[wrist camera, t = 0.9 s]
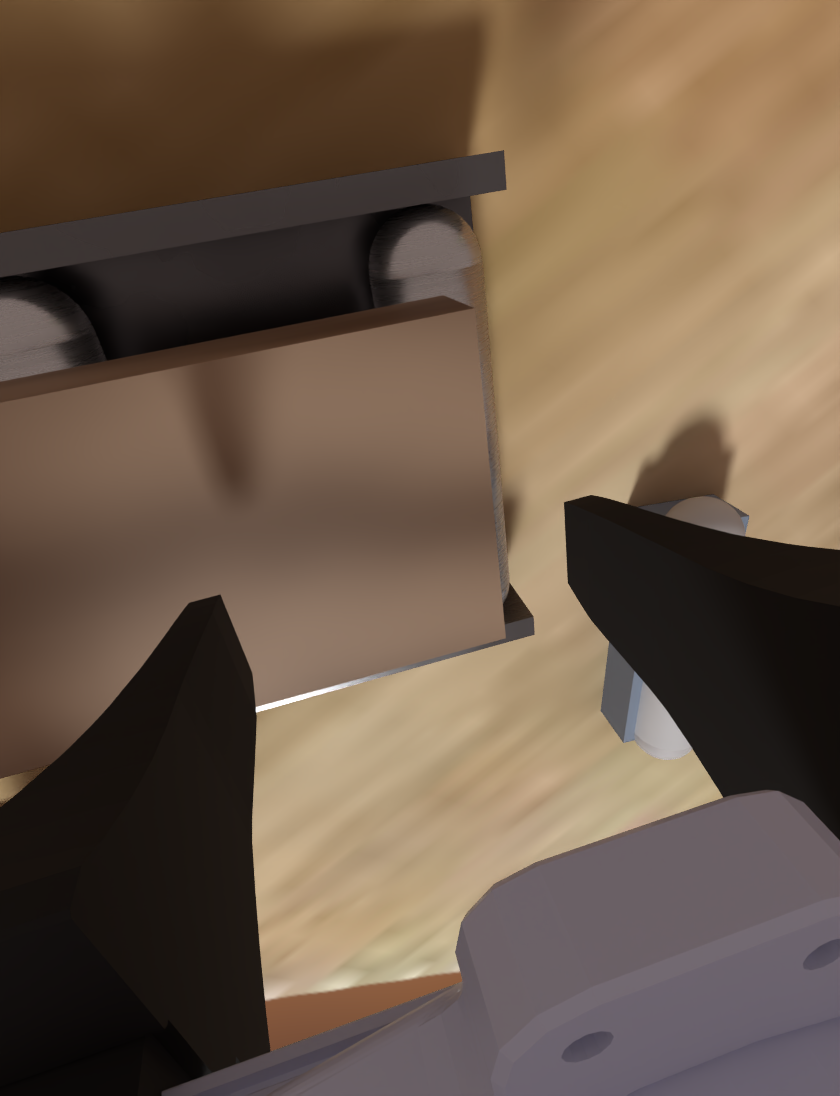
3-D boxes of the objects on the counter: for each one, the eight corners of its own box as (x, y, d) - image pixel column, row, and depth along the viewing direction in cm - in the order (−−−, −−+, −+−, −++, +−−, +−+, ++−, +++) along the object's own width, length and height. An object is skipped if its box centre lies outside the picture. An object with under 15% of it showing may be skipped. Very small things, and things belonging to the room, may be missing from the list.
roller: (667, 704, 31) (717, 763, 28) (596, 721, 30) (638, 783, 27) (713, 469, 25) (785, 508, 22) (624, 483, 24) (684, 526, 21)
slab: (478, 592, 20) (505, 637, 17) (-127, 752, 17) (-181, 828, 15) (443, 295, 15) (474, 308, 13) (-386, 456, 13) (-517, 506, 10)
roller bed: (500, 583, 25) (540, 643, 21) (148, 677, 23) (129, 758, 19) (460, 162, 17) (511, 148, 14) (-66, 248, 15) (-157, 257, 12)
